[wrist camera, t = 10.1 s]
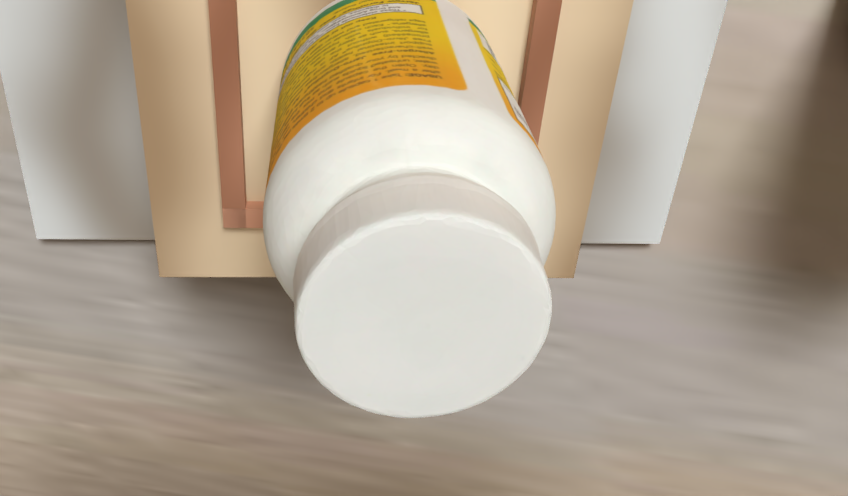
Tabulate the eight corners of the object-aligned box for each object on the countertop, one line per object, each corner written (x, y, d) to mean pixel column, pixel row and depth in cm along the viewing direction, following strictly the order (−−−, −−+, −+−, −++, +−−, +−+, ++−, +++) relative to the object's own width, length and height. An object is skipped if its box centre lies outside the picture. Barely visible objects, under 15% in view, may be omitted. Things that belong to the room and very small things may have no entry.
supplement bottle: (536, 51, 20) (673, 271, 12) (420, 212, 22) (473, 487, 15) (347, -68, 18) (366, 105, 10) (242, 122, 20) (189, 384, 13)
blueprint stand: (790, -264, 22) (927, -255, 17) (654, 235, 31) (718, 336, 26) (-80, -346, 19) (-222, -364, 14) (42, 229, 28) (-19, 342, 23)
